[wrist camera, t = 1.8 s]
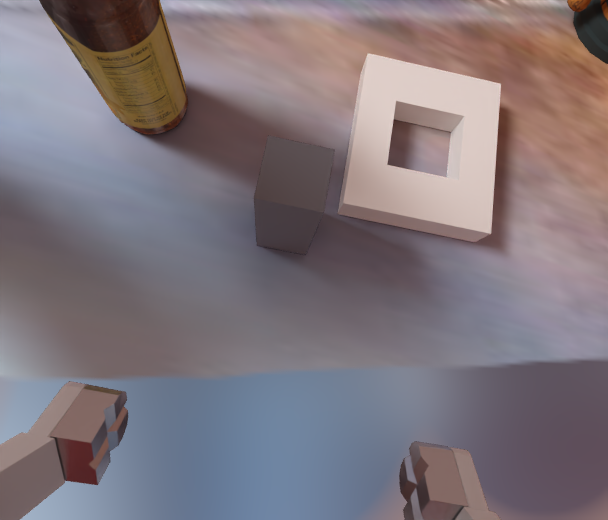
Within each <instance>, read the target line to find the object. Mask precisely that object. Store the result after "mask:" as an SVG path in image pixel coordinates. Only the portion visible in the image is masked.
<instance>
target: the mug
mask: <svg viewBox="0 0 608 520" xmlns="http://www.w3.org/2000/svg"><path fill="white" fill-rule="evenodd" d="M567 3H568V5H569V7H570V8H571V9H572V10H573V11H575V12H574V22H573V23H574V26H575V29H576V32H577V35H578V38H579V39H580V41H581V42H582V43H583V44H584V46H585V47H586V48H587V49H588V51H589V52H590V53H591V54H593V55H594V56H596V57H597V58H599V59H600V60H602V61H603V62H605V63H606V64H608V0H568V1H567Z"/></svg>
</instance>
